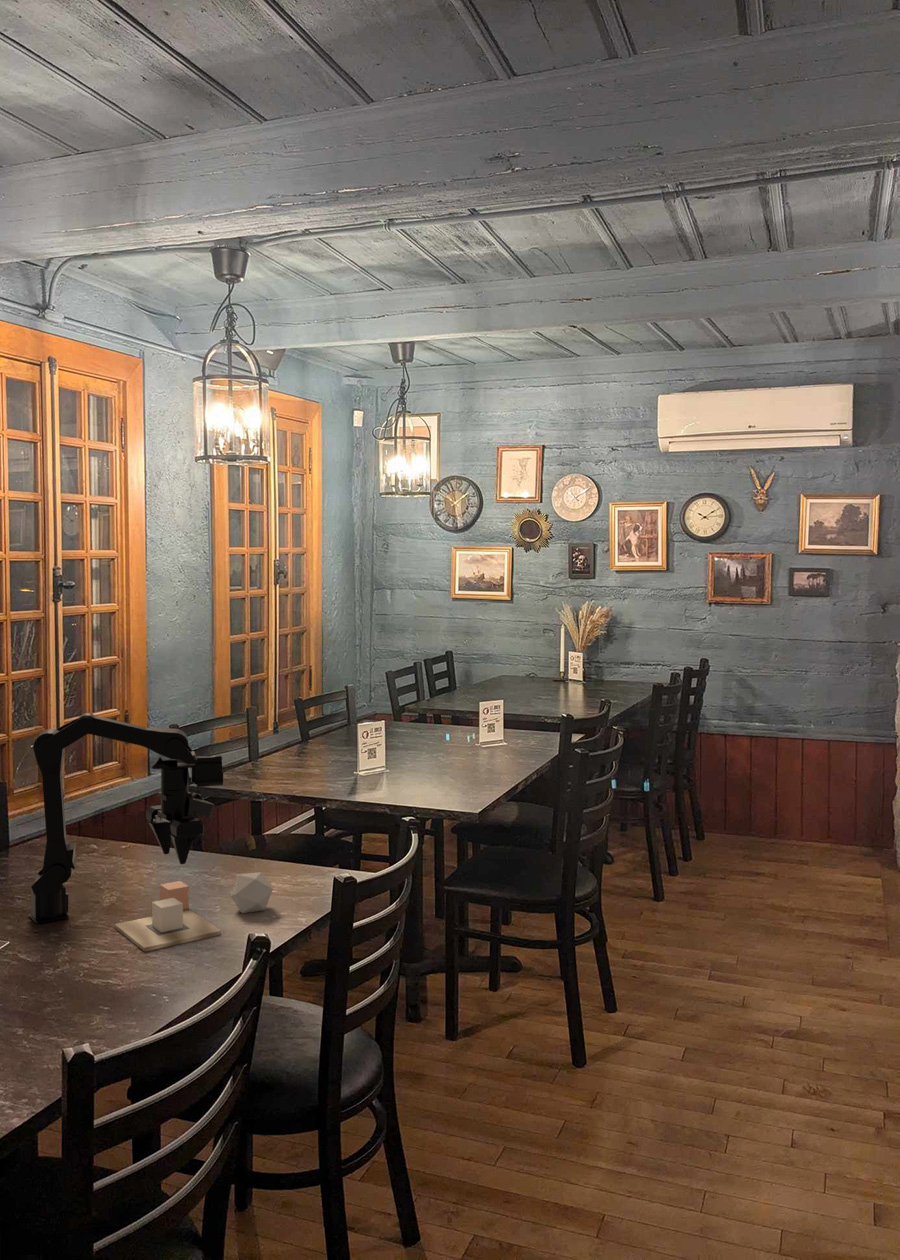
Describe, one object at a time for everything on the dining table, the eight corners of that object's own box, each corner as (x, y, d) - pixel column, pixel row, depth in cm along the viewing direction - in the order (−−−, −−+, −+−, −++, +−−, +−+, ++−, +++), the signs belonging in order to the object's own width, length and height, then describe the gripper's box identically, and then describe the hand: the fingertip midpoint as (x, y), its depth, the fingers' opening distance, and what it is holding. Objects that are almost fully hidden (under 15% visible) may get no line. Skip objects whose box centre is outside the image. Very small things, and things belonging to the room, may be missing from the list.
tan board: (144, 951, 195) (144, 947, 195) (114, 927, 208) (114, 923, 208) (220, 934, 205) (220, 930, 205) (188, 912, 218) (188, 908, 218)
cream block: (161, 932, 203) (161, 908, 203) (152, 925, 207) (152, 901, 206) (182, 927, 206) (182, 903, 206) (173, 921, 210) (173, 897, 209)
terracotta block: (168, 912, 218) (168, 890, 217) (160, 906, 221) (160, 884, 221) (188, 908, 221) (188, 886, 220) (179, 902, 224) (180, 880, 224)
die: (267, 904, 226) (241, 869, 226) (286, 893, 220) (260, 858, 220) (242, 926, 220) (216, 891, 220) (262, 916, 214) (235, 880, 214)
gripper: (227, 791, 216) (227, 863, 217) (192, 776, 231) (192, 843, 232) (177, 797, 209) (177, 871, 210) (145, 781, 224) (145, 851, 225)
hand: (174, 858), depth 219 cm, fingers open, 9 cm apart
